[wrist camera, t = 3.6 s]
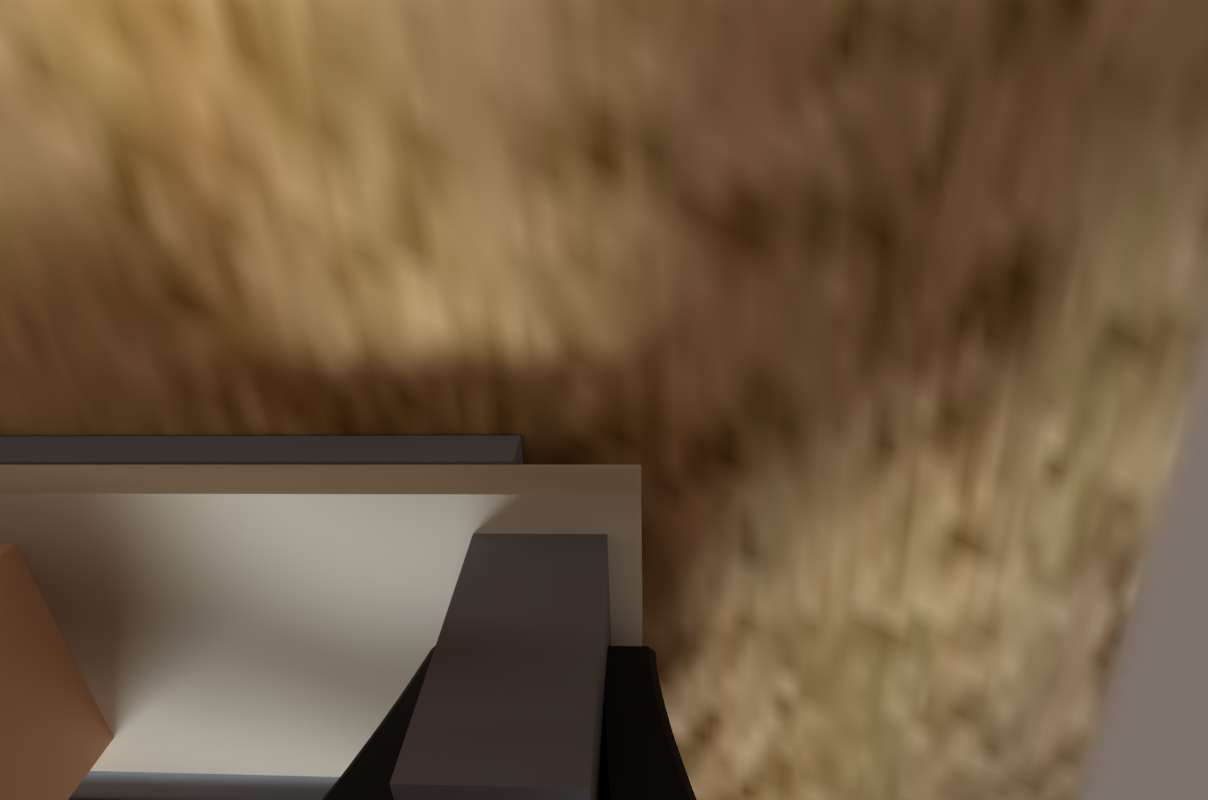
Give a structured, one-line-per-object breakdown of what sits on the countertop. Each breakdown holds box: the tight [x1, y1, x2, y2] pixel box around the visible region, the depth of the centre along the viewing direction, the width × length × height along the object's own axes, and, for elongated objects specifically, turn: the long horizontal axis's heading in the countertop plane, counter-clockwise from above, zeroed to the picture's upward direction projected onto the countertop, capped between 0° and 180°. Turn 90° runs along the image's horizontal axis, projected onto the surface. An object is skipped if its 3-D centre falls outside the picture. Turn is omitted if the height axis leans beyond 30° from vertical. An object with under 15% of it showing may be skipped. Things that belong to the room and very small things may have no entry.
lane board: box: [0, 435, 523, 800], centre depth 15 cm, size 15×17×1 cm
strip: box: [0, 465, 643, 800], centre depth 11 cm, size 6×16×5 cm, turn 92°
